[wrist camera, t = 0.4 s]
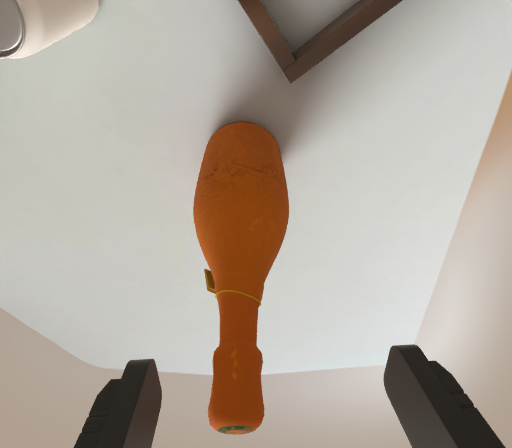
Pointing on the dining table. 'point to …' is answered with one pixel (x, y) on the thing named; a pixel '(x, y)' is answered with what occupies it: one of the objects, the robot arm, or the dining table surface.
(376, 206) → the dining table surface
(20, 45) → the can
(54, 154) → the dining table surface
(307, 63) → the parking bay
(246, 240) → the wine bottle
